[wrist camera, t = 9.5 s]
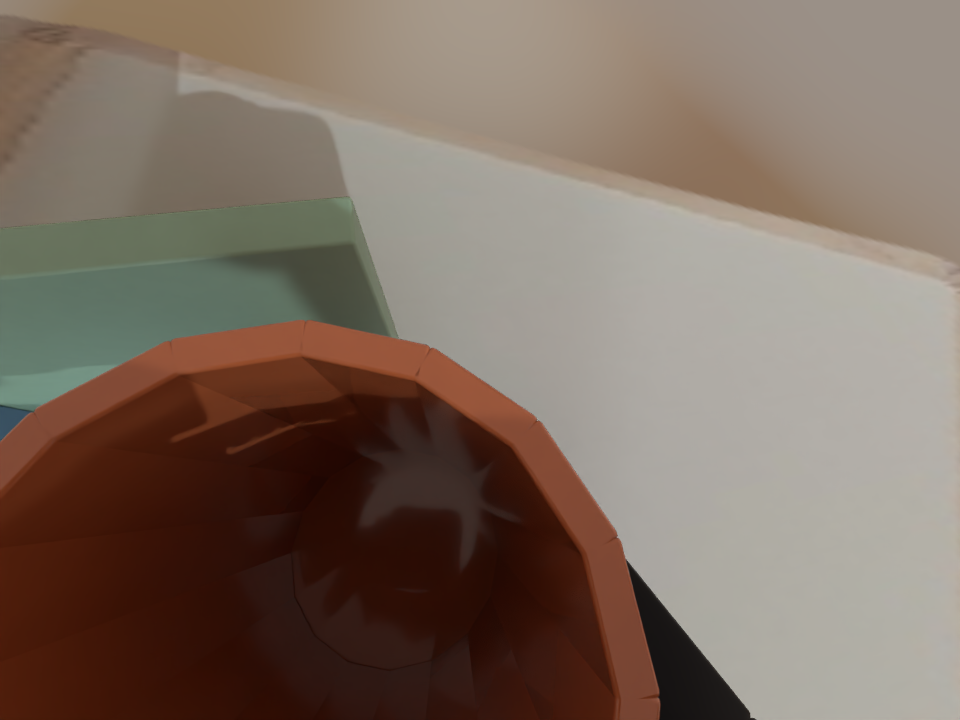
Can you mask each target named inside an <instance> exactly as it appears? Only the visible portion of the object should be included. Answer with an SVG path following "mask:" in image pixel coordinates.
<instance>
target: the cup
mask: <svg viewBox="0 0 960 720" xmlns="http://www.w3.org/2000/svg"><path fill="white" fill-rule="evenodd" d="M617 536H618V535H617V532H616V530H615V528H614V527H613V526H612V524H611V523H610V521H609V520H608V518H607V517H606V515H605V514H604V512H603V511H602V510H601V508H600V507H599V505H598V504H597V502H596V501H595V499H594V498H593V496H592V495H591V494H590V492H589V491H588V489H587V488H586V486H585V485H584V483H583V482H582V480H581V479H580V477H579V476H578V475H577V473H576V472H575V470H574V469H573V467H572V466H571V464H570V463H569V461H568V460H567V459H566V457H565V456H564V454H563V453H562V451H561V450H560V448H559V447H558V445H557V444H556V443H555V441H554V440H553V438H552V437H551V435H550V434H549V432H548V431H547V429H546V428H545V427H544V425H543V424H542V423H541V422H540V421H537V418H536V417H535V415H533V414H532V413H530V412H529V411H527V410H526V409H524V408H523V407H521V406H520V405H518V404H517V403H515V402H514V401H512V400H511V399H509V398H508V397H506V396H505V395H503V394H502V393H500V392H499V391H498V390H496V389H495V388H493V387H492V386H490V385H489V384H487V383H486V382H484V381H483V380H481V379H480V378H478V377H477V376H475V375H474V374H472V373H471V372H469V371H468V370H466V369H465V368H463V367H462V366H460V365H459V364H458V363H456V362H455V361H453V360H452V359H450V358H449V357H447V356H446V355H444V354H443V353H441V352H440V351H438V350H437V349H435V348H431V349H430V347H429V346H428V345H425V344H420V343H415V342H411V341H406V340H402V339H397V338H392V337H388V336H383V335H378V334H374V333H369V332H365V331H360V330H355V329H351V328H346V327H341V326H337V325H332V324H328V323H323V322H318V321H314V320H307V321H305V320H295V321H288V322H282V323H275V324H268V325H261V326H255V327H248V328H241V329H235V330H228V331H221V332H214V333H208V334H201V335H194V336H188V337H181V338H174V339H172V340H171V341H165V342H163V343H161V344H159V345H157V346H155V347H153V348H151V349H149V350H147V351H145V352H143V353H142V354H140V355H138V356H136V357H134V358H132V359H130V360H128V361H126V362H124V363H122V364H120V365H118V366H116V367H114V368H112V369H111V370H109V371H107V372H105V373H103V374H101V375H99V376H97V377H95V378H93V379H91V380H89V381H87V382H85V383H83V384H81V385H79V386H78V387H76V388H74V389H72V390H70V391H68V392H66V393H64V394H62V395H60V396H58V397H56V398H54V399H52V400H50V401H48V402H47V403H45V404H43V405H41V406H39V407H37V408H36V409H35V410H34V412H31V413H29V414H27V415H26V416H25V417H24V418H23V419H22V420H21V421H20V422H19V423H18V424H17V425H16V426H15V427H14V428H13V429H12V430H11V431H10V432H9V433H8V434H7V435H6V436H5V437H4V438H3V439H2V440H1V441H0V720H659V719H660V706H661V704H660V699H659V697H658V696H659V687H658V683H657V679H656V675H655V671H654V667H653V664H652V660H651V656H650V652H649V648H648V644H647V640H646V636H645V632H644V629H643V625H642V621H641V617H640V613H639V609H638V605H637V601H636V597H635V594H634V590H633V586H632V582H631V578H630V574H629V570H628V566H627V562H626V559H625V555H624V551H623V547H622V543H621V541H620V539H619V538H617Z"/></svg>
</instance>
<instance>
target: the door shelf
mask: <svg viewBox="0 0 960 720" xmlns="http://www.w3.org/2000/svg"><path fill="white" fill-rule="evenodd" d="M295 320H305V321H307V320H314V321H318V322H323V323H328V324H332V325H337V326H341V327H346V328H351V329H355V330H360V331H365V332H369V333H374V334H378V335H383V336H388V337H392V338H397V339H399V338H398V335H397V332H396V329H395V326H394V323H393V320H392V317H391V314H390V311H389V308H388V305H387V302H386V299H385V296H384V293H383V290H382V287H381V284H380V282H379V279H378V276H377V273H376V270H375V267H374V264H373V261H372V258H371V255H370V252H369V249H368V246H367V243H366V240H365V237H364V234H363V231H362V228H361V225H360V222H359V219H358V216H357V213H356V210H355V207H354V204H353V201H352V200H351V198H350V197H338V198H327V199H316V200H305V201H294V202H283V203H272V204H261V205H250V206H239V207H228V208H217V209H206V210H195V211H184V212H173V213H162V214H151V215H140V216H129V217H118V218H107V219H96V220H85V221H74V222H63V223H52V224H41V225H30V226H19V227H8V228H0V441H1V440H2V439H3V438H4V437H5V436H6V435H7V434H8V433H9V432H10V431H11V430H12V429H13V428H14V427H15V426H16V425H17V424H18V423H19V422H20V421H21V420H22V419H23V418H24V417H25V416H26V415H27V414H29V413H31V412H34V410H35V409H36V408H37V407H39V406H41V405H43V404H45V403H47V402H48V401H50V400H52V399H54V398H56V397H58V396H60V395H62V394H64V393H66V392H68V391H70V390H72V389H74V388H76V387H78V386H79V385H81V384H83V383H85V382H87V381H89V380H91V379H93V378H95V377H97V376H99V375H101V374H103V373H105V372H107V371H109V370H111V369H112V368H114V367H116V366H118V365H120V364H122V363H124V362H126V361H128V360H130V359H132V358H134V357H136V356H138V355H140V354H142V353H143V352H145V351H147V350H149V349H151V348H153V347H155V346H157V345H159V344H161V343H163V342H165V341H171V340H172V339H174V338H181V337H188V336H194V335H201V334H208V333H214V332H221V331H228V330H235V329H241V328H248V327H255V326H261V325H268V324H275V323H282V322H288V321H295Z"/></svg>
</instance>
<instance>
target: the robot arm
mask: <svg viewBox="0 0 960 720" xmlns="http://www.w3.org/2000/svg"><path fill="white" fill-rule="evenodd" d="M625 559H626V558H625ZM626 562H627V566H628V570H629V574H630V578H631V582H632V586H633V590H634V594H635V597H636V601H637V605H638V609H639V613H640V617H641V621H642V625H643V629H644V632H645V636H646V640H647V644H648V648H649V652H650V656H651V660H652V664H653V667H654V671H655V675H656V679H657V683H658V687H659V696H658V697H659V699H660V704H661V706H660V719H659V720H756V719H755V718H750V712H749V710H748V709H747V708H746V707H745V705H744V704H743V703H742V702H741V701H740V699H739V698H738V697H737V696H736V694H735V693H734V692H733V691H732V689H731V688H730V687H729V686H728V684H727V683H726V682H725V681H724V680H723V678H722V677H721V676H720V675H719V673H718V672H717V671H716V670H715V668H714V667H713V666H712V665H711V663H710V662H709V661H708V660H707V659H706V657H705V656H704V655H703V654H702V652H701V651H700V650H699V649H698V647H697V646H696V645H695V644H694V642H693V641H692V640H691V639H690V638H689V636H688V635H687V634H686V633H685V631H684V630H683V629H682V628H681V626H680V625H679V624H678V623H677V621H676V620H675V619H674V618H673V617H672V615H671V614H670V613H669V612H668V610H667V609H666V608H665V607H664V605H663V604H662V603H661V602H660V600H659V599H658V598H657V597H656V596H655V594H654V593H653V592H652V591H651V589H650V588H649V587H648V586H647V584H646V583H645V582H644V581H643V579H642V578H641V577H640V576H639V575H638V573H637V572H636V571H635V570H634V568H633V567H632V566H631V565H630V563H629V562H628V561H627V560H626Z"/></svg>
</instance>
